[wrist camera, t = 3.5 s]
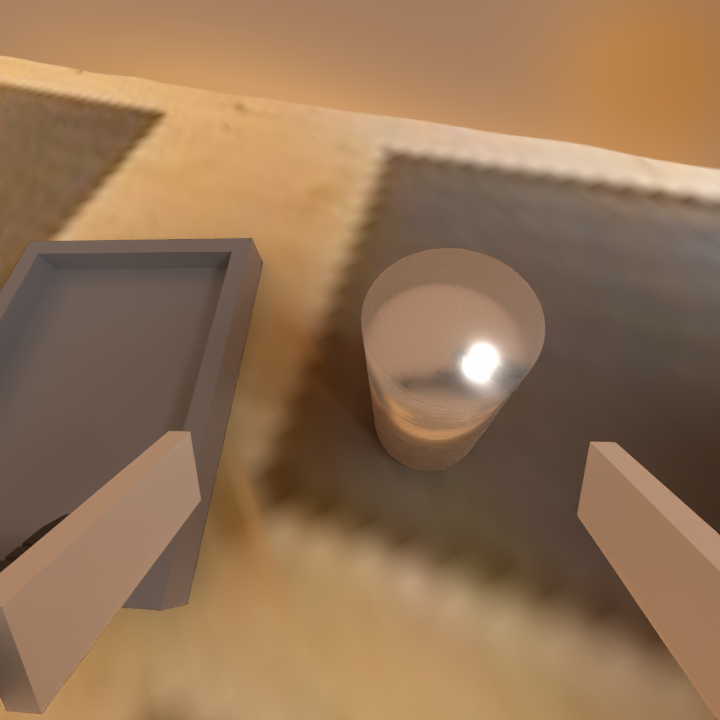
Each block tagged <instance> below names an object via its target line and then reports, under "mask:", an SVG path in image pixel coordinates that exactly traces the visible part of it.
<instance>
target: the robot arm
mask: <svg viewBox="0 0 720 720" xmlns="http://www.w3.org/2000/svg"><path fill="white" fill-rule="evenodd" d="M200 501H201V496H200V490H199V484H198V477H197V471H196V465H195V458H194V452H193V446H192V440H191V433H190V432H188V431H168V432H167V433H166V434H165V435H164V436H162V437H161V438H160V439H159V440H158V441H156V442H155V443H154V444H153V445H152V446H150V447H149V448H148V449H147V450H146V451H145V452H143V453H142V454H141V455H140V456H139V457H137V458H136V459H135V460H134V461H133V462H131V463H130V464H129V465H128V466H127V467H126V468H124V469H123V470H122V471H121V472H120V473H118V474H117V475H116V476H115V477H114V478H112V479H111V480H110V481H109V482H108V483H106V484H105V485H104V486H103V487H102V488H101V489H99V490H98V491H97V492H96V493H95V494H93V495H92V496H91V497H90V498H89V499H87V500H86V501H85V502H84V503H83V504H82V505H80V506H79V507H78V508H77V509H76V510H74V511H73V512H72V513H71V514H65V515H63V516H61V517H59V518H58V519H56V520H54V521H52V522H50V523H49V524H47V525H45V526H43V527H42V528H40V529H39V530H38V531H37V532H35V533H34V534H33V535H32V536H30V537H29V538H28V539H27V540H26V541H24V542H23V543H22V546H21V547H17V548H16V549H14V550H13V551H12V552H11V553H9V554H8V555H7V556H6V557H5V560H1V561H0V697H1V699H2V701H3V704H4V706H5V709H6V711H15V712H26V713H37V714H42V713H43V712H44V710H45V709H46V708H47V706H48V705H49V704H50V702H51V701H52V700H53V698H54V697H55V696H56V694H57V693H58V692H59V690H60V689H61V688H62V686H63V685H64V684H65V682H66V681H67V680H68V678H69V677H70V675H71V674H72V673H73V671H74V670H75V669H76V667H77V666H78V665H79V663H80V662H81V661H82V659H83V658H84V657H85V655H86V654H87V653H88V651H89V650H90V649H91V647H92V646H93V645H94V643H95V642H96V641H97V639H98V638H99V636H100V635H101V634H102V632H103V631H104V630H105V628H106V627H107V626H108V624H109V623H110V622H111V620H112V619H113V618H114V616H115V615H116V614H117V612H118V611H119V610H120V608H121V607H122V606H123V604H124V603H125V602H126V600H127V599H128V598H129V596H130V595H131V593H132V592H133V591H134V589H135V588H136V587H137V585H138V584H139V583H140V581H141V580H142V579H143V577H144V576H145V575H146V573H147V572H148V571H149V569H150V568H151V567H152V565H153V564H154V563H155V561H156V560H157V559H158V557H159V556H160V554H161V553H162V552H163V550H164V549H165V548H166V546H167V545H168V544H169V542H170V541H171V540H172V538H173V537H174V536H175V534H176V533H177V532H178V530H179V529H180V528H181V526H182V525H183V524H184V522H185V521H186V520H187V518H188V517H189V515H190V514H191V513H192V511H193V510H194V509H195V507H196V506H197V505H198V503H199V502H200ZM577 516H578V517H579V519H580V520H581V522H582V523H583V525H584V526H585V528H586V529H587V530H588V532H589V533H590V535H591V536H592V538H593V539H594V541H595V542H596V544H597V545H598V547H599V548H600V550H601V551H602V552H603V554H604V555H605V557H606V558H607V560H608V561H609V563H610V564H611V566H612V567H613V569H614V570H615V572H616V573H617V575H618V576H619V577H620V579H621V580H622V582H623V583H624V585H625V586H626V588H627V589H628V591H629V592H630V594H631V595H632V597H633V598H634V599H635V601H636V602H637V604H638V605H639V607H640V608H641V610H642V611H643V613H644V614H645V616H646V617H647V619H648V620H649V621H650V623H651V624H652V626H653V627H654V629H655V630H656V632H657V633H658V635H659V636H660V638H661V639H662V641H663V642H664V644H665V645H666V646H667V648H668V649H669V651H670V652H671V654H672V655H673V657H674V658H675V660H676V661H677V663H678V664H679V666H680V667H681V668H682V670H683V671H684V673H685V674H686V676H687V677H688V679H689V680H690V682H691V683H692V685H693V686H694V688H695V689H696V690H697V692H698V693H699V695H700V696H701V698H702V699H703V701H704V702H705V704H706V705H707V707H708V708H709V710H710V711H711V713H712V714H713V715H714V717H715V718H716V720H720V535H719V534H718V533H717V532H716V531H715V530H714V529H713V528H711V527H710V526H709V525H708V524H707V523H706V522H705V521H704V520H702V519H701V518H700V517H699V516H698V515H697V514H696V513H695V512H693V511H692V510H691V509H690V508H689V507H688V506H687V505H686V504H684V503H683V502H682V501H681V500H680V499H679V498H678V497H677V496H675V495H674V494H673V493H672V492H671V491H670V490H669V489H668V488H666V487H665V486H664V485H663V484H662V483H661V482H660V481H659V480H657V479H656V478H655V477H654V476H653V475H652V474H651V473H650V472H648V471H647V470H646V469H645V468H644V467H643V466H642V465H641V464H639V463H638V462H637V461H636V460H635V459H634V458H633V457H632V456H630V455H629V454H628V453H627V452H626V451H625V450H624V449H623V448H621V447H620V446H619V445H618V444H617V443H616V442H590V445H589V450H588V456H587V462H586V467H585V473H584V478H583V484H582V489H581V495H580V501H579V506H578V512H577Z"/></svg>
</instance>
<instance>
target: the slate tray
mask: <svg viewBox="0 0 720 720" xmlns="http://www.w3.org/2000/svg"><path fill="white" fill-rule="evenodd" d="M262 264H263V262H262V260H261V258H260V255H259V253H258V251H257V249H256V246H255V244H254V242H253V240H252V238H240V239H168V240H96V241H30V243H29V244H28V246H27V248H26V250H25V251H24V253H23V255H22V256H21V258H20V260H19V261H18V263H17V265H16V266H15V268H14V270H13V272H12V273H11V275H10V277H9V278H8V280H7V282H6V283H5V285H4V287H3V288H2V290H1V292H0V561H1V560H5V557H6V556H7V555H8V554H9V553H11V552H12V551H13V550H14V549H16V548H17V547H21V546H22V543H23V542H24V541H26V540H27V539H28V538H29V537H30V536H32V535H33V534H34V533H35V532H37V531H38V530H39V529H40V528H42V527H43V526H45V525H47V524H49V523H50V522H52V521H54V520H56V519H58V518H59V517H61V516H63V515H65V514H71V513H72V512H73V511H74V510H76V509H77V508H78V507H79V506H80V505H82V504H83V503H84V502H85V501H86V500H87V499H89V498H90V497H91V496H92V495H93V494H95V493H96V492H97V491H98V490H99V489H101V488H102V487H103V486H104V485H105V484H106V483H108V482H109V481H110V480H111V479H112V478H114V477H115V476H116V475H117V474H118V473H120V472H121V471H122V470H123V469H124V468H126V467H127V466H128V465H129V464H130V463H131V462H133V461H134V460H135V459H136V458H137V457H139V456H140V455H141V454H142V453H143V452H145V451H146V450H147V449H148V448H149V447H150V446H152V445H153V444H154V443H155V442H156V441H158V440H159V439H160V438H161V437H162V436H164V435H165V434H166V433H167V432H168V431H188V432H190V433H191V440H192V446H193V452H194V458H195V465H196V471H197V477H198V484H199V490H200V496H201V501H200V502H199V503H198V505H197V506H196V507H195V509H194V510H193V511H192V513H191V514H190V515H189V517H188V518H187V520H186V521H185V522H184V524H183V525H182V526H181V528H180V529H179V530H178V532H177V533H176V534H175V536H174V537H173V538H172V540H171V541H170V542H169V544H168V545H167V546H166V548H165V549H164V550H163V552H162V553H161V554H160V556H159V557H158V559H157V560H156V561H155V563H154V564H153V565H152V567H151V568H150V569H149V571H148V572H147V573H146V575H145V576H144V577H143V579H142V580H141V581H140V583H139V584H138V585H137V587H136V588H135V589H134V591H133V592H132V593H131V595H130V596H129V598H128V599H127V600H126V602H125V603H124V604H123V606H122V607H123V608H135V609H148V610H160V611H161V610H165V609H169V608H173V607H177V606H181V605H185V604H187V603H188V599H189V594H190V590H191V585H192V580H193V576H194V571H195V567H196V562H197V558H198V553H199V549H200V544H201V540H202V535H203V531H204V526H205V522H206V517H207V513H208V508H209V504H210V499H211V494H212V490H213V485H214V481H215V476H216V472H217V467H218V463H219V458H220V454H221V449H222V445H223V440H224V436H225V431H226V427H227V422H228V418H229V413H230V408H231V404H232V399H233V395H234V390H235V386H236V381H237V377H238V372H239V368H240V363H241V359H242V354H243V350H244V345H245V341H246V336H247V332H248V327H249V322H250V318H251V313H252V309H253V304H254V300H255V295H256V291H257V286H258V282H259V277H260V273H261V268H262Z"/></svg>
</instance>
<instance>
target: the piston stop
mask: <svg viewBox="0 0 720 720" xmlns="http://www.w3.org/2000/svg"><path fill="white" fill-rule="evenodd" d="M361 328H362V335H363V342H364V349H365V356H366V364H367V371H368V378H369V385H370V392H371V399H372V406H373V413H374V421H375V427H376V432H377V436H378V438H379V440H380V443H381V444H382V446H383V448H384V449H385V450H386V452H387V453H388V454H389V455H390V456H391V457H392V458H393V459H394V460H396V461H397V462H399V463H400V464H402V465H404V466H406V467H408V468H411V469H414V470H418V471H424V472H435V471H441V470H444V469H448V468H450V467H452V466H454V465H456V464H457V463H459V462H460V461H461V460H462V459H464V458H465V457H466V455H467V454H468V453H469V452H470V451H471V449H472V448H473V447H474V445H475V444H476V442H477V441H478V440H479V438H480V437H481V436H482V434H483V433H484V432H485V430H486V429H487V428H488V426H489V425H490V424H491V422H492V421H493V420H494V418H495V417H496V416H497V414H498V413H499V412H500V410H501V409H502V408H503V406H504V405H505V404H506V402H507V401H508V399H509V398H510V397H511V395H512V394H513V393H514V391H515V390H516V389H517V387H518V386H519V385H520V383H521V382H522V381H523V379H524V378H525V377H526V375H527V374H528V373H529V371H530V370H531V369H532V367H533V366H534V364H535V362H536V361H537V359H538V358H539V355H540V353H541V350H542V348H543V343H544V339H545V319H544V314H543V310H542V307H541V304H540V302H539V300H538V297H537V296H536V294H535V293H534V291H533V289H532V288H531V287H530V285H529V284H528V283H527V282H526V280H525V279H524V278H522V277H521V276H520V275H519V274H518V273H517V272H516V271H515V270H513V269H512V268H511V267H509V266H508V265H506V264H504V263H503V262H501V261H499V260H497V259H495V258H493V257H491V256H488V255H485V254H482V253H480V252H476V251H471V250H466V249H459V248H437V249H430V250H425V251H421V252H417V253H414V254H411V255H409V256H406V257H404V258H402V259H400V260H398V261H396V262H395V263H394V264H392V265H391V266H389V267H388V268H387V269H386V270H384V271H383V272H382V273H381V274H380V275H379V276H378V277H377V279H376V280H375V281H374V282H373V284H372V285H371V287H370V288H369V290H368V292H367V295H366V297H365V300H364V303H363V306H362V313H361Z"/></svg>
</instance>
